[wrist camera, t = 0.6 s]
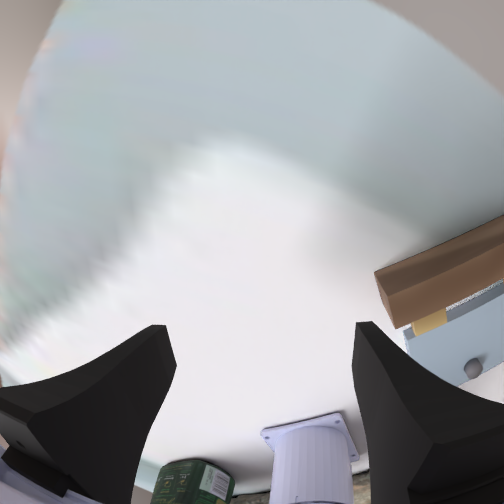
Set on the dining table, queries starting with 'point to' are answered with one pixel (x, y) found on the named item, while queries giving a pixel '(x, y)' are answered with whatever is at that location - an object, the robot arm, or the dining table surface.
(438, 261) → the brown long block
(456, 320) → the door panel
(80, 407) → the robot arm
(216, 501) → the coffee jar
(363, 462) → the dining table surface
